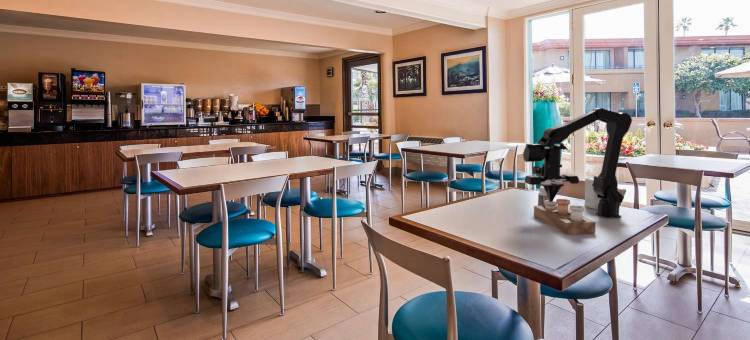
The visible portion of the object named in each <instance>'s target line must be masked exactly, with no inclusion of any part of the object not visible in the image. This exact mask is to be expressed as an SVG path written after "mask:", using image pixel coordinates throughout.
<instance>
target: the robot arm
mask: <svg viewBox="0 0 750 340" xmlns="http://www.w3.org/2000/svg"><path fill="white" fill-rule="evenodd" d="M597 121H600V122H602V123H605V124H606V125H605V126H606V127H605V128H606V131H607V141H606V146H605V147H606V148H605V151H604V157H603V161H602V167H601V170H600V174H599V175H598V176H596V175H595V176H593V178H594V182H593V184H592V186H593V190H594V192H595V193H596V194H597V197H598V198H600V199H599V203H598V209H597V212H595V214H596V215H598V216H600V217H603V218H609V219H610V218H622V215H620V205H621V204H620V203H622V202H623V201H624V197H625V196H623V194H621V193H620V191H619V190H618V186H619V185H618V179H617V176H616V174H617V169H618V164H619V158H620V153H621V149H622V145H623V140H624V139H623V138H624V136H625V135H627V133H628V132H629V130H630V128H631V125H632V123H633V122H632V121H633V118H632V116H631V115H630V114H628V113H627V112H616V111H612V110H608V109H605V108H603V107H594V108H593V109H591V110H590V111H587V112H586V113H583V114H582V115H580V116H578V117H576V118H574V119H572V120H570V121H568V122H566V123H562V124H560V125H559V124H558V125H554V126H552V127H549V128H546V129H544V131H543V133H542V137H540V139H539V140H538V142H537V143H533V144H532V143H526V144H525V148H524V150H523V152H522V155H523V156H522V157H523V160H524V162H526V163H531V162H533V163H535V162H537V163H538V162H540V163H541V162H542V161H543V162H542V164H541V167H540V166H539V165H534V166H533V167H532V174H530V175H526V176H525V177H524V183H526V184H528V185H530V186H537V185H538V186H539V185H540V186H543V187H544V189H545V191H546V193H547V196H548V199H549V201H550V202H552V201H554V199H555V198H556V196H557V194H558V192H559V191H560V190H561V188H562V187H564V186H565V185H564V183H563V182H569V184H571V185H574V184H575V185H577V184H579V183H580V178H579V176H578V175H575V174H572V173H567V174H562V175H561V168H563V164H561V160H562V159H561V158H562V151H563V150H567V149H568V147H567V146H566V145H564V143H563V141H565V140H566V139H567V138H569V137H570V136H571V135H572V134H573V133H576V132H577V131H578V130H579V131H580V130H581V129H583V128H586V127H587V126H590V125H591V124H593V123H595V122H597Z"/></svg>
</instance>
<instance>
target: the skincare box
mask: <svg viewBox="0 0 750 340" xmlns="http://www.w3.org/2000/svg"><path fill="white" fill-rule="evenodd" d="M593 182H594V177H589V178H585V179H584V207H585V208H586V207H587V208H590V209H594V210H598V203H599V199H600V198H598V197H597V194H596V193H595V192H594V190H593V186H592V184H593Z"/></svg>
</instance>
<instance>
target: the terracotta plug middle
mask: <svg viewBox="0 0 750 340" xmlns="http://www.w3.org/2000/svg"><path fill="white" fill-rule="evenodd" d="M555 201H556V204H557V214H558V215H568V209H569V206H570V205H571V200H570V199H567V198H558V199H557V198H556V200H555Z"/></svg>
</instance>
